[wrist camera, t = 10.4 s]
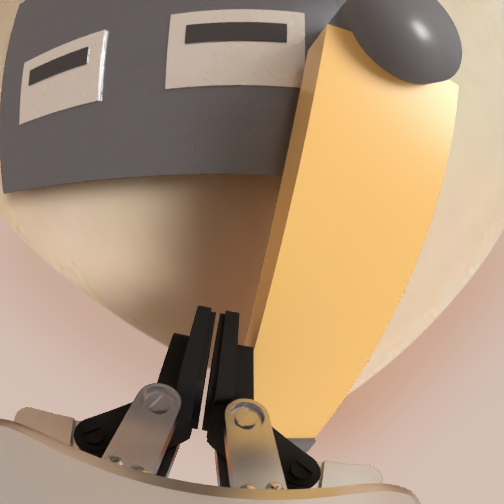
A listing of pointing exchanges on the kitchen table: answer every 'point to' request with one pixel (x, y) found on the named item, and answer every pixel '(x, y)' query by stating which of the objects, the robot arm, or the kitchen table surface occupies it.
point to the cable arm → (351, 203)
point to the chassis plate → (152, 87)
